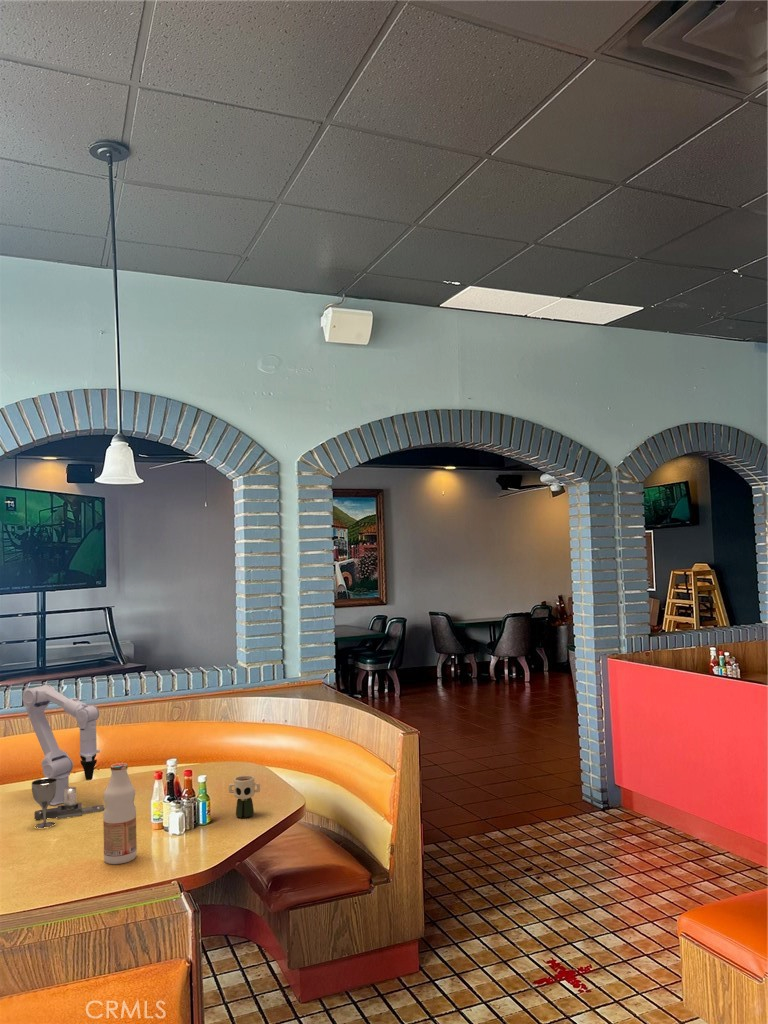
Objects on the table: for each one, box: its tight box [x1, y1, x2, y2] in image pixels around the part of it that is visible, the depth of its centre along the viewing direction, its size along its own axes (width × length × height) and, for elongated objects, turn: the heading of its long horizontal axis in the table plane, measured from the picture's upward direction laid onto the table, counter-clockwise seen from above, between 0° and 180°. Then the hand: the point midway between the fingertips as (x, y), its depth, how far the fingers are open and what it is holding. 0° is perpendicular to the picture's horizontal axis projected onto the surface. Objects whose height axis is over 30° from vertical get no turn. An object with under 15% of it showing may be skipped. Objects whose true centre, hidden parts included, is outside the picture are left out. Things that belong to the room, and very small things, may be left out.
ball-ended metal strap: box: [33, 802, 105, 821], centre depth 277 cm, size 23×8×2 cm, turn 112°
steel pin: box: [63, 786, 78, 810], centre depth 277 cm, size 4×4×9 cm
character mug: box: [228, 774, 261, 818], centre depth 269 cm, size 11×7×13 cm, turn 90°
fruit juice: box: [102, 762, 138, 865], centre depth 235 cm, size 9×9×28 cm
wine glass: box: [31, 777, 57, 828], centre depth 266 cm, size 8×8×15 cm
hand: (88, 776), depth 286 cm, fingers open, 7 cm apart
